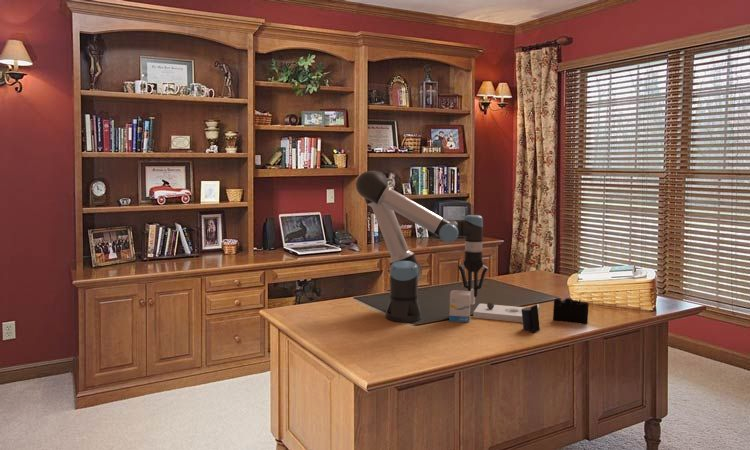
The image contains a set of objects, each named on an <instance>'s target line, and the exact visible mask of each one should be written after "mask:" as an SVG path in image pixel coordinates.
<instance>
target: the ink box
mask: <svg viewBox="0 0 750 450" xmlns="http://www.w3.org/2000/svg"><path fill="white" fill-rule="evenodd" d="M470 300H471V291H468V290H463V289H462V290H461V289H456V290H455V289H451V290H450V292H449V314H448V319H449V320H448V321H449V322H458V323H470V317H471V304H470Z"/></svg>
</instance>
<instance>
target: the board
mask: <svg viewBox="0 0 750 450" xmlns="http://www.w3.org/2000/svg"><path fill="white" fill-rule="evenodd" d="M487 304H488V303H478V305H477V306H476V308H475V309H474V310H473V316H472V317H473V318H474V319H483V320H484V319H486V320H493V321H494V320H497V321H507V322H516V323H523V320H522V310H521V309H523V308H526V307H525V306H524V307H523V306H515V305H514V306H513V305H512V306H511V305H500V304H494V307H493V308H492V309H489V308H488V307H487ZM536 305H537V307H538V317H539V316H540V306H541V305H540V304H539V303H537V304H536Z"/></svg>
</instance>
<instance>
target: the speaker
mask: <svg viewBox="0 0 750 450" xmlns="http://www.w3.org/2000/svg"><path fill="white" fill-rule="evenodd" d="M521 310H522V320H523V322H522V327H523V330H525V331H532V334H535V333H538V332H539V331H541V328H540V319H539V316H538V307H537V304H534V305H533V306H530V307H525V308H523V309H521Z"/></svg>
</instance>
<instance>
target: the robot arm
mask: <svg viewBox="0 0 750 450" xmlns="http://www.w3.org/2000/svg"><path fill="white" fill-rule="evenodd" d="M355 188H356V191H357V193H358V195H360V196H361V197H362V198H364V202H365V204H366V205H367V206H369V207H371V209H372V212H373V214H374V217H375V220H376V222H377V224H378V227H379V230H380V232H381V235H382V237H383V240H384V243H385V245H386V247H387V250H388V253H389V255H390V260H389V264H390V269H389V276H390V277H389V302H388V304H387V308H386V310H385V319H387V320H388V321H392V322H398V323H412V322H418V321H420V320H421V319H422V311H421V307H420V304H419V300H418V288H419V287H418V286H419V285H418V283H419V281H420V280H421V278H422V274H423V272H422V270H423V269H422V265H421V263H419V261H418V260H417V258H416V255H415V253H414V252H413V251H411V250H410V249H409V246H408V244H407V242H406V239H405V237H404V233H403V232H402V231H403V230H402V229H401V226H400V223H399V220H398V219H397V216H396V213H397V214H398V215H400V216H402V217H404V218H406V219H408V220H409V221H411V222H413V223H414V224H417V225H418V226H420V227H421V228H423V229H424V230H427V231H429V232H430V233H432V234H434V235H435V236H437V237H439V238H440V239H441V241H443V242H444V243H452V242H455V241H456V240H457V238H464V250H465V251H464V261H463V264H461V265H459V266H458V267H457V268H458V270H459V272H460V274H461V275H460V276H461V280H462V284H463V288H464V289H467V291H471V300H470V306H471V305H475V304H476V298H477V296H478V290H480V289H481V288H483V287H482V286H483V284H484V281H485V277H486V274H487V271H488V269H489V267H488V266H486V265H484V262H483V242H484V241H483V235H484V232H483V231H484V218H483V216H482V215H479V214H468V215H465V218H464V219H447V218H443V217H442V216H440V215H438V214H436V213H435V212H433V211H431V210H429V209H428V208H426V207H424V206H423V205H421V204H419V203H417V202H415V201H414V200H412V199H410V198H408V197H406V196H405V195H403V194H402V193H400V192H398V191H396V190H394V189H392V188H391V185H390V184H389V182H388V178H387V177H386V175H385V174H384V173H383V172H381V171H379V170H375V169H374V170H368V171H365V172H362V173H361V174H359V175H358V177H357V179H356V181H355ZM465 270H467V274H468V276H466V271H465ZM480 270H481V271H482V272H481V275H480V278H479V271H480ZM467 278H468V280H467Z"/></svg>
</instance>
